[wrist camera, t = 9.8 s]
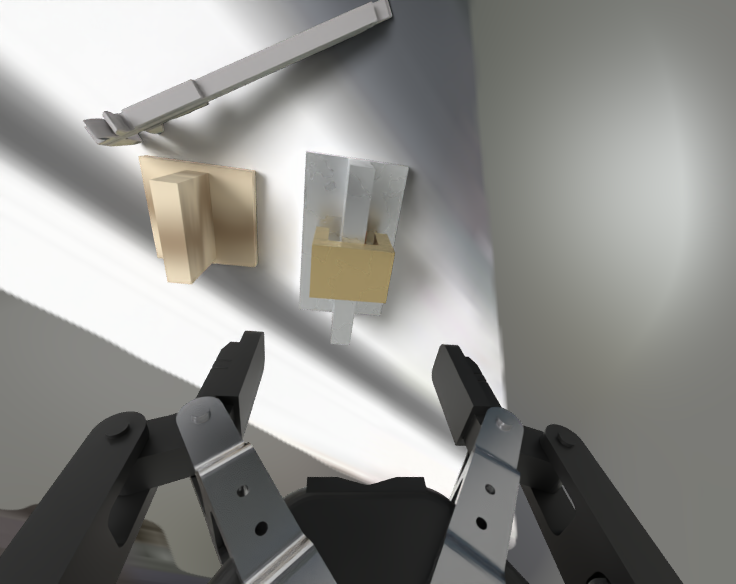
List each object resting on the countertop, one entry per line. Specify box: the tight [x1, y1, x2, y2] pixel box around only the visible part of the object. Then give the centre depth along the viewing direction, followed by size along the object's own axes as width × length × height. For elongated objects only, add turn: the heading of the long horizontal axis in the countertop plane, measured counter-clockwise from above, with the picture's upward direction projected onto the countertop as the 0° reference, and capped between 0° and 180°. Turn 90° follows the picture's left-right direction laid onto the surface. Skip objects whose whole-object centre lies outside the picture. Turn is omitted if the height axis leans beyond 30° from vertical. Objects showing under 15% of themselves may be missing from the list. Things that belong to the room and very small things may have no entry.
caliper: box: [83, 0, 392, 146], centre depth 19 cm, size 20×1×6 cm, turn 112°
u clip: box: [309, 226, 395, 303], centre depth 23 cm, size 4×6×4 cm
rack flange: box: [299, 151, 409, 345], centre depth 25 cm, size 14×8×6 cm, turn 172°
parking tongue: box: [138, 155, 258, 284], centre depth 23 cm, size 8×8×6 cm
